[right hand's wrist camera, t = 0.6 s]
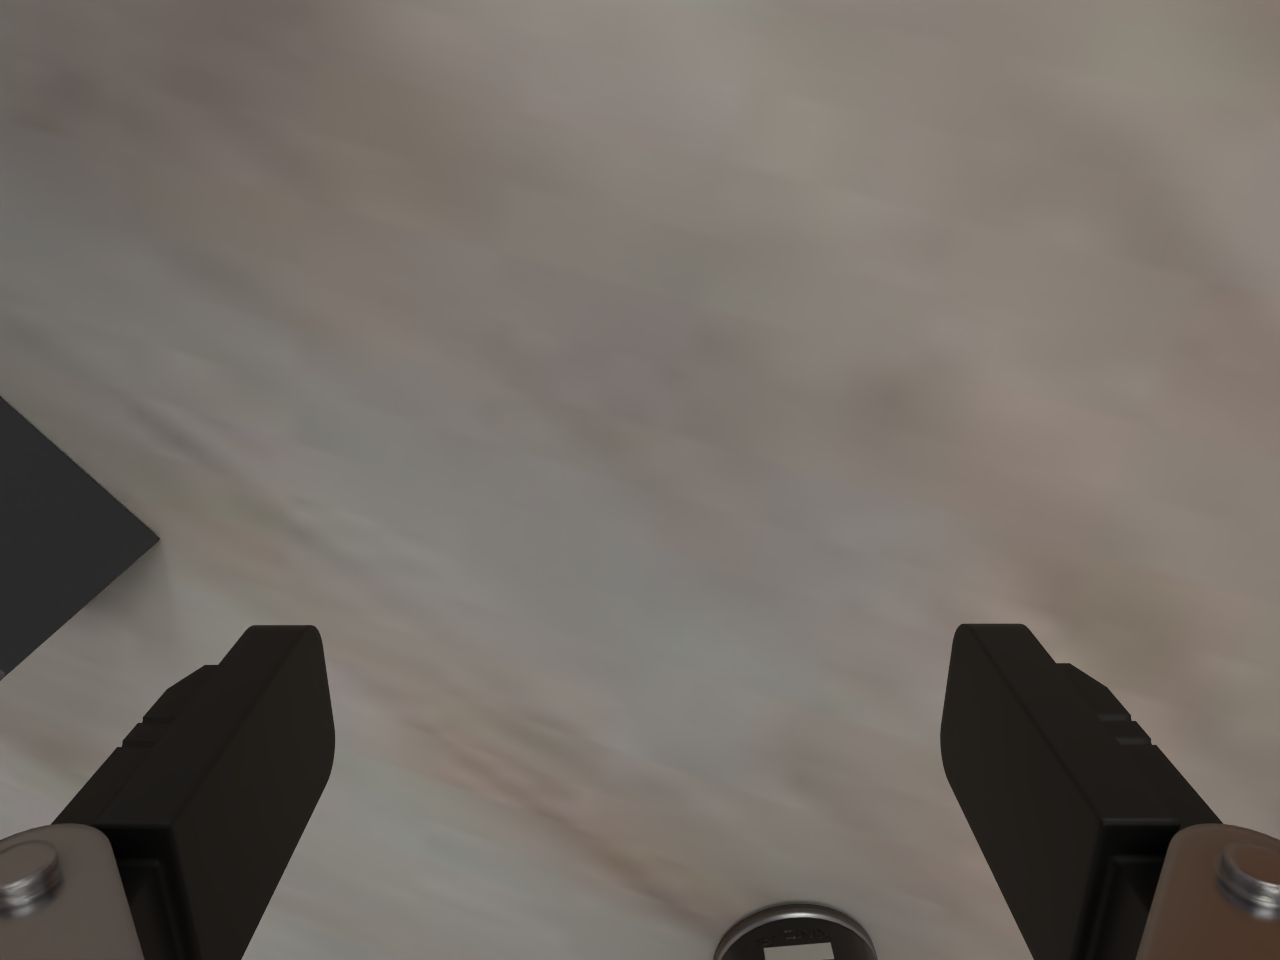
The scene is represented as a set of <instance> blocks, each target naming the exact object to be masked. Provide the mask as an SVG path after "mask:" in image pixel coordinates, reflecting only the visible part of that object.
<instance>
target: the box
mask: <svg viewBox="0 0 1280 960" xmlns="http://www.w3.org/2000/svg"><path fill="white" fill-rule="evenodd" d="M158 541H159V538H158V537H157V536H156V535H155V534H154V533H153V532H152V531H151V530H149V529H148V528H147V527H146V526H145V525H144V524H143V523H142V522H140V521H139V520H138V519H137V518H136V517H135V516H134V515H133V514H131V513H130V512H129V511H128V510H127V509H126V508H125V507H124V506H122V505H121V504H120V503H119V502H118V501H117V500H116V499H114V498H113V497H112V496H111V495H110V494H109V493H108V492H107V491H105V490H104V489H103V488H102V487H101V486H100V485H99V484H98V483H96V482H95V481H94V480H93V479H92V478H91V477H90V476H89V475H87V474H86V473H85V472H84V471H83V470H82V469H81V468H80V467H78V466H77V465H76V464H75V463H74V462H73V461H72V460H71V459H69V458H68V457H67V456H66V455H65V454H64V453H63V452H62V451H60V450H59V449H58V448H57V447H56V446H55V445H54V444H52V443H51V442H50V441H49V440H48V439H47V438H46V437H45V436H43V435H42V434H41V433H40V432H39V431H38V430H37V429H36V428H34V427H33V426H32V425H31V424H30V423H29V422H28V421H27V420H25V419H24V418H23V417H22V416H21V415H20V414H19V413H18V412H16V411H15V410H14V409H13V408H12V407H11V406H10V405H9V404H7V403H6V402H5V401H4V400H3V399H2V398H1V397H0V680H2V679H3V678H4V677H5V676H6V675H7V674H8V673H9V672H11V671H12V670H13V669H14V668H15V667H16V666H17V665H19V664H20V663H21V662H22V661H23V660H24V659H25V658H26V657H28V656H29V655H30V654H31V653H32V652H33V651H34V650H35V649H37V648H38V647H39V646H40V645H41V644H42V643H43V642H45V641H46V640H47V639H48V638H49V637H50V636H51V635H52V634H54V633H55V632H56V631H57V630H58V629H59V628H60V627H61V626H63V625H64V624H65V623H66V622H67V621H68V620H69V619H71V618H72V617H73V616H74V615H75V614H76V613H77V612H78V611H80V610H81V609H82V608H83V607H84V606H85V605H86V604H87V603H89V602H90V601H91V600H92V599H93V598H94V597H95V596H97V595H98V594H99V593H100V592H101V591H102V590H103V589H104V588H106V587H107V586H108V585H109V584H110V583H111V582H112V581H113V580H115V579H116V578H117V577H118V576H119V575H120V574H121V573H123V572H124V571H125V570H126V569H127V568H128V567H129V566H130V565H132V564H133V563H134V562H135V561H136V560H137V559H138V558H139V557H141V556H142V555H143V554H144V553H145V552H146V551H147V550H149V549H150V548H151V547H152V546H153V545H154V544H155V543H156V542H158Z"/></svg>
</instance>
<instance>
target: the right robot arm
mask: <svg viewBox="0 0 1280 960" xmlns="http://www.w3.org/2000/svg"><path fill="white" fill-rule="evenodd" d="M940 744H941V755H942V761H943V766H944V770H945V773H946V777H947V779H948V781H949V784H950V786H951V788H952V790H953V792H954V794H955V796H956V798H957V800H958V802H959V804H960V807H961V809H962V811H963V813H964V815H965V817H966V819H967V821H968V823H969V825H970V827H971V829H972V832H973V834H974V836H975V838H976V840H977V842H978V844H979V846H980V848H981V850H982V852H983V854H984V857H985V859H986V861H987V863H988V865H989V867H990V869H991V871H992V873H993V875H994V877H995V879H996V882H997V884H998V886H999V888H1000V890H1001V892H1002V894H1003V896H1004V898H1005V900H1006V902H1007V904H1008V906H1009V909H1010V911H1011V913H1012V915H1013V917H1014V919H1015V921H1016V923H1017V925H1018V927H1019V929H1020V931H1021V934H1022V936H1023V938H1024V940H1025V942H1026V944H1027V946H1028V948H1029V950H1030V952H1031V954H1032V956H1033V959H1034V960H1280V840H1278V839H1276V838H1273V837H1271V836H1268V835H1266V834H1263V833H1260V832H1257V831H1254V830H1251V829H1247V828H1243V827H1238V826H1234V825H1226V824H1223V823H1222V822H1221V821H1220V819H1219V818H1218V817H1217V816H1216V815H1215V814H1214V812H1213V811H1212V810H1211V809H1210V808H1209V806H1208V805H1207V804H1206V803H1205V802H1204V801H1203V799H1202V798H1201V797H1200V796H1199V795H1198V794H1197V792H1196V791H1195V790H1194V789H1193V788H1192V787H1191V785H1190V784H1189V783H1188V782H1187V781H1186V779H1185V778H1184V777H1183V776H1182V775H1181V774H1180V772H1179V771H1178V770H1177V769H1176V768H1175V767H1174V765H1173V764H1172V763H1171V762H1170V761H1169V760H1168V758H1167V757H1166V756H1165V755H1164V754H1163V752H1162V751H1161V750H1160V749H1159V748H1158V747H1157V745H1152V744H1151V738H1150V737H1149V736H1148V735H1147V734H1146V733H1145V731H1144V730H1143V729H1142V728H1141V727H1140V725H1139V724H1138V723H1137V722H1136V721H1131V715H1130V714H1129V713H1128V711H1127V710H1126V709H1125V708H1124V707H1123V706H1122V704H1121V703H1120V702H1119V701H1118V700H1117V698H1116V697H1115V696H1114V695H1113V694H1112V693H1111V691H1110V690H1109V689H1108V688H1107V687H1106V686H1104V685H1103V684H1101V683H1099V682H1098V681H1096V680H1095V679H1093V678H1092V677H1090V676H1089V675H1087V674H1085V673H1084V672H1082V671H1081V670H1079V669H1078V668H1076V667H1075V666H1073V665H1071V664H1070V663H1055V661H1054V660H1053V659H1052V658H1051V656H1050V655H1049V654H1048V653H1047V651H1046V650H1045V649H1044V648H1043V646H1042V645H1041V644H1040V642H1039V641H1038V640H1037V639H1036V637H1035V636H1034V635H1033V634H1032V632H1031V631H1030V630H1029V629H1028V628H1027V627H1026V626H1025V625H1023V624H961V625H960V626H959V627H958V628H957V630H956V632H955V635H954V639H953V644H952V651H951V658H950V665H949V673H948V680H947V687H946V694H945V701H944V708H943V715H942V723H941V733H940ZM334 751H335V729H334V721H333V714H332V707H331V700H330V693H329V686H328V679H327V672H326V665H325V658H324V651H323V644H322V639H321V636H320V633H319V631H318V630H317V628H316V627H315V626H312V625H254V626H251V627H249V628H248V629H247V630H246V631H245V632H244V634H243V635H242V636H241V637H240V639H239V640H238V641H237V642H236V644H235V645H234V646H233V647H232V648H231V650H230V651H229V652H228V653H227V655H226V656H225V657H224V658H223V660H222V661H221V662H220V663H219V665H204V666H203V667H201V668H200V669H198V670H196V671H195V672H193V673H192V674H190V675H189V676H187V677H185V678H184V679H182V680H181V681H179V682H178V683H176V684H175V685H173V686H171V687H170V688H168V689H167V690H166V691H165V692H164V693H163V695H162V696H161V697H160V698H159V699H158V700H157V702H156V703H155V704H154V705H153V706H152V707H151V709H150V710H149V711H148V712H147V713H146V714H145V716H144V717H143V722H142V723H138V724H137V725H136V726H135V727H134V728H133V730H132V731H131V732H130V733H129V734H128V735H127V736H126V738H125V739H124V740H123V745H122V747H117V748H116V749H115V750H114V752H113V753H112V754H111V755H110V756H109V757H108V759H107V760H106V761H105V762H104V763H103V764H102V766H101V767H100V768H99V769H98V770H97V771H96V773H95V774H94V775H93V776H92V777H91V778H90V780H89V781H88V782H87V783H86V784H85V785H84V787H83V788H82V789H81V790H80V791H79V792H78V793H77V795H76V796H75V797H74V798H73V799H72V800H71V802H70V803H69V804H68V805H67V806H66V807H65V809H64V810H63V811H62V812H61V813H60V814H59V816H58V817H57V818H56V819H55V820H54V821H53V823H52V824H51V825H46V826H42V827H37V828H33V829H29V830H26V831H23V832H20V833H17V834H14V835H12V836H9V837H7V838H4V839H2V840H0V960H241V959H242V957H243V955H244V953H245V951H246V949H247V947H248V944H249V942H250V940H251V938H252V936H253V934H254V932H255V930H256V928H257V926H258V924H259V922H260V920H261V918H262V916H263V914H264V912H265V910H266V907H267V905H268V903H269V901H270V899H271V897H272V895H273V893H274V891H275V889H276V887H277V885H278V883H279V881H280V879H281V877H282V875H283V872H284V870H285V868H286V866H287V864H288V862H289V860H290V858H291V856H292V854H293V852H294V850H295V848H296V846H297V844H298V842H299V840H300V838H301V835H302V833H303V831H304V829H305V827H306V825H307V823H308V821H309V819H310V817H311V815H312V813H313V811H314V809H315V807H316V805H317V803H318V800H319V798H320V796H321V794H322V792H323V790H324V788H325V786H326V784H327V782H328V779H329V776H330V773H331V769H332V765H333V759H334ZM714 960H878V959H877V956H876V952H875V949H874V945H873V943H872V941H871V938H870V937H869V935H868V934H867V932H866V931H865V930H864V929H863V928H862V927H861V926H860V925H859V924H858V923H857V922H856V921H854V920H853V919H852V918H850V917H848V916H847V915H845V914H843V913H841V912H838V911H836V910H833V909H830V908H827V907H822V906H817V905H808V904H792V905H784V906H778V907H773V908H770V909H766V910H763V911H761V912H758V913H756V914H754V915H752V916H750V917H748V918H746V919H745V920H743V921H741V922H740V923H739V924H737V925H736V926H735V927H734V928H733V929H731V930H730V931H729V933H728V934H727V935H726V936H725V937H724V939H723V940H722V941H721V943H720V945H719V947H718V949H717V951H716V954H715V958H714Z"/></svg>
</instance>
